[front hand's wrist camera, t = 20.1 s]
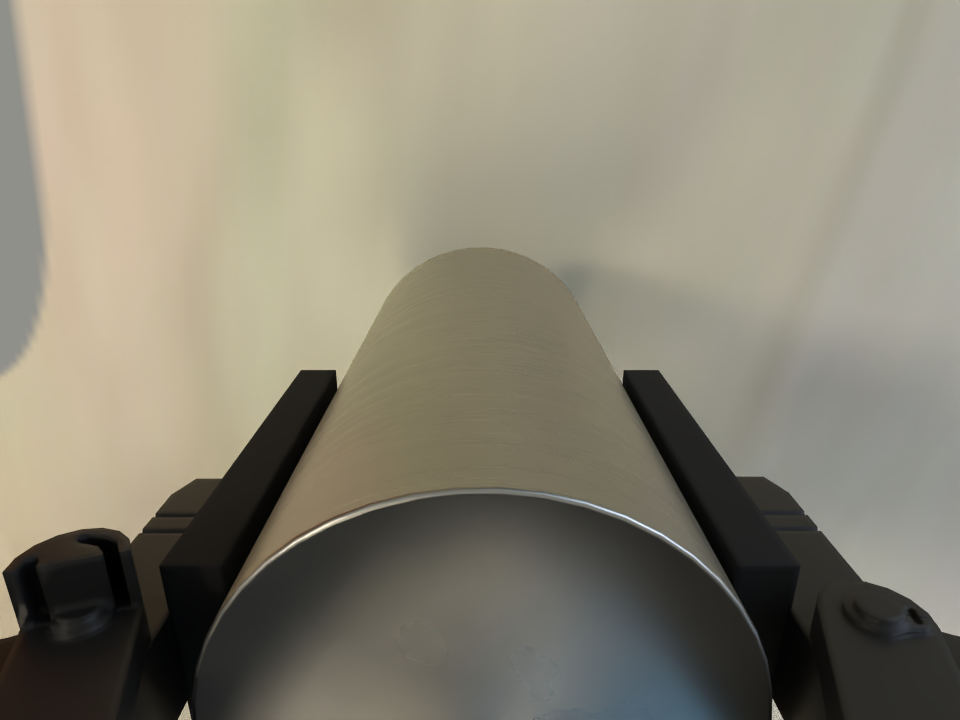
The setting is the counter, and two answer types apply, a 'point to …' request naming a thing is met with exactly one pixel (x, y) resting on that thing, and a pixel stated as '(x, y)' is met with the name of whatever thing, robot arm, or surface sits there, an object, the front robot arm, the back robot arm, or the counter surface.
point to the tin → (481, 535)
